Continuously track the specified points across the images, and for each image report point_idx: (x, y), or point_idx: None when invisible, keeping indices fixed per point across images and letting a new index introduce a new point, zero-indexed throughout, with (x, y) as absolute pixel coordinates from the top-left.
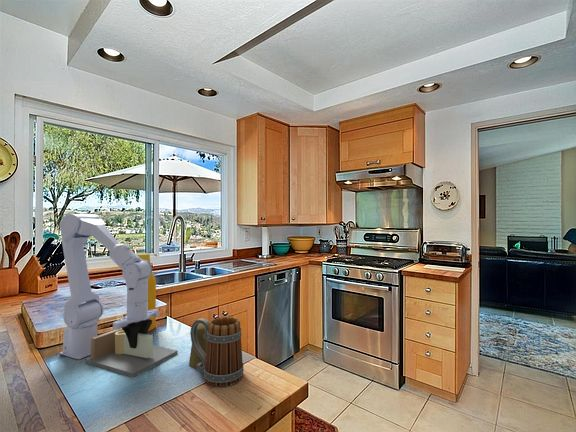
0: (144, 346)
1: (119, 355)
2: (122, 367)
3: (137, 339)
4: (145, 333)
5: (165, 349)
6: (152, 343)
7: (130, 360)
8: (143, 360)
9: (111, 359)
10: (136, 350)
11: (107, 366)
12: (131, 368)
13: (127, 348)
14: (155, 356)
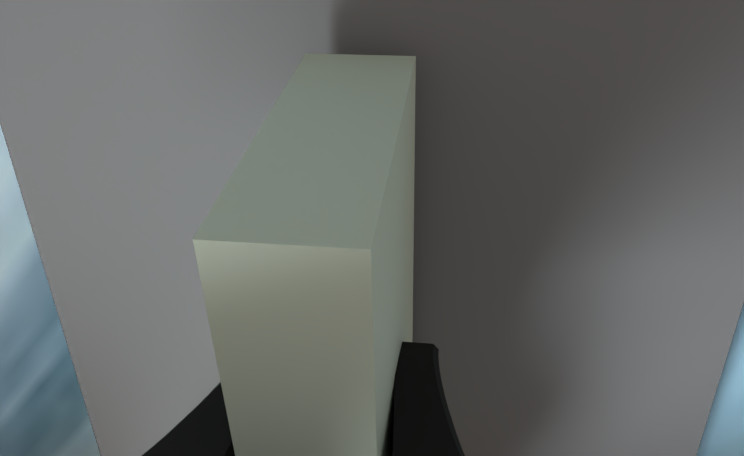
0: (396, 206)
1: None
2: (720, 193)
3: (386, 427)
4: (195, 448)
5: (35, 96)
6: (257, 144)
7: (509, 257)
8: (437, 104)
9: (566, 448)
10: (406, 312)
11: (716, 374)
12: (715, 55)
13: None
14: (264, 44)
